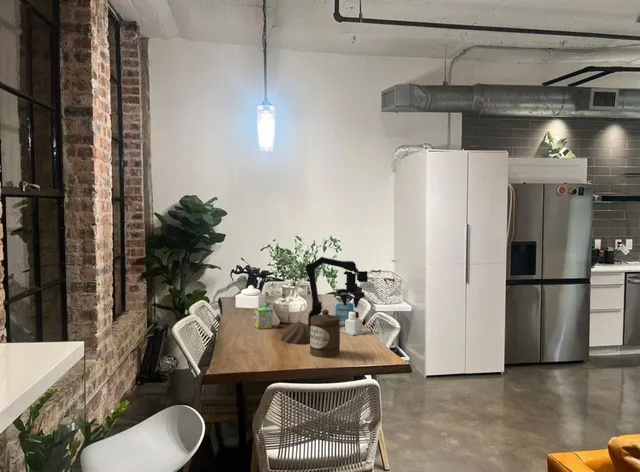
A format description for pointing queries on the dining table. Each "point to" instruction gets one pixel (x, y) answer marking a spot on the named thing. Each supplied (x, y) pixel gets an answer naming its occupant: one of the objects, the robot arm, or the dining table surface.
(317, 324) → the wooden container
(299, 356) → the dining table surface
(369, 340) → the dining table surface
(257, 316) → the chalk box
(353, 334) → the tray
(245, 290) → the butter dish
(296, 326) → the decorative dome
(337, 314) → the data package
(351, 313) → the medicine bottle
